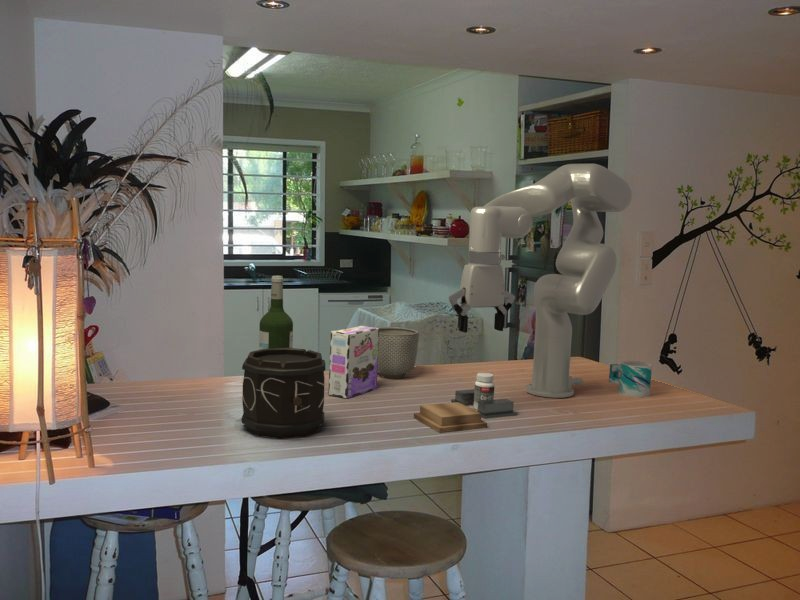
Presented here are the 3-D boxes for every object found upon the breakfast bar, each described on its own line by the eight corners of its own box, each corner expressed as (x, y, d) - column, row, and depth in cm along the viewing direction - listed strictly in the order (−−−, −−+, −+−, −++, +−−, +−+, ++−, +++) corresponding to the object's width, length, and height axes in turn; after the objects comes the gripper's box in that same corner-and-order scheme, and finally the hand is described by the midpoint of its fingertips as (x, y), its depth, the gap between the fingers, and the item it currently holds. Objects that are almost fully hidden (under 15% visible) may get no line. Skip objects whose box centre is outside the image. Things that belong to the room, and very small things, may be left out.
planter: (372, 369, 220) (374, 325, 218) (419, 372, 218) (421, 328, 216) (364, 379, 206) (365, 333, 204) (414, 383, 204) (416, 336, 203)
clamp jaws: (481, 399, 190) (482, 387, 189) (517, 415, 176) (517, 402, 176) (451, 401, 186) (451, 390, 185) (484, 418, 172) (485, 405, 172)
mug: (634, 398, 197) (637, 367, 196) (601, 388, 207) (603, 358, 206) (656, 395, 201) (658, 365, 200) (622, 386, 211) (624, 356, 210)
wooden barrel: (250, 444, 147) (251, 365, 145) (232, 419, 163) (233, 348, 161) (337, 436, 154) (340, 361, 152) (312, 413, 170) (314, 345, 168)
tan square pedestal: (459, 413, 176) (459, 400, 175) (486, 427, 165) (487, 414, 164) (413, 417, 170) (414, 404, 170) (439, 432, 160) (440, 419, 159)
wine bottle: (297, 400, 181) (300, 277, 178) (271, 405, 176) (274, 278, 172) (277, 393, 187) (280, 274, 183) (251, 398, 181) (253, 275, 177)
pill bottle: (480, 411, 178) (482, 377, 177) (469, 406, 182) (471, 373, 181) (497, 410, 180) (498, 375, 179) (485, 405, 184) (487, 371, 183)
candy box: (346, 399, 184) (348, 333, 182) (327, 395, 187) (329, 330, 185) (377, 389, 196) (380, 327, 194) (359, 385, 199) (361, 324, 197)
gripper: (507, 258, 183) (504, 327, 185) (444, 258, 176) (441, 329, 179) (524, 260, 176) (520, 332, 178) (458, 260, 170) (455, 335, 172)
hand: (480, 330), depth 179 cm, fingers open, 9 cm apart
